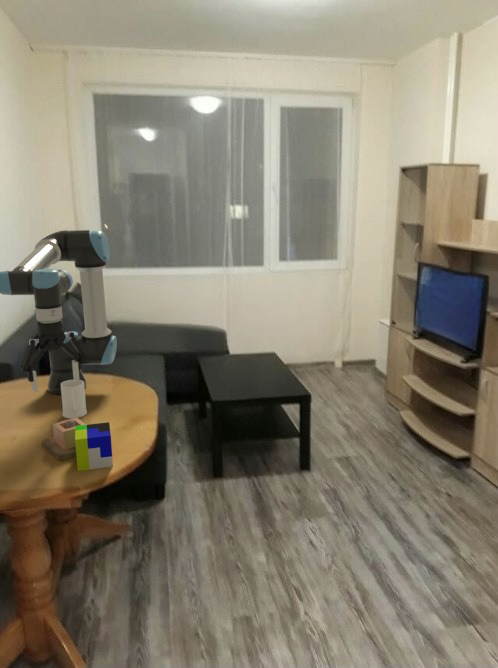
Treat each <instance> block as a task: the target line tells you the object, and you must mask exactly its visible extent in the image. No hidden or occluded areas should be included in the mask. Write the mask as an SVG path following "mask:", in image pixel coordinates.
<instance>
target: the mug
mask: <svg viewBox="0 0 498 668" xmlns="http://www.w3.org/2000/svg"><path fill="white" fill-rule="evenodd" d="M60 395H61V401H62V402H61V404H62V405H61V406H62V417H63V418H65V419H72V418H76V417H77V418H78V419H80V418H81V417H84V416H86V415H87V413H88V410H87V405H86V392H85V389H84V381H82V380H80V381H78V382H77V381H75V380H67V381H64V382H62V383H61V394H60Z"/></svg>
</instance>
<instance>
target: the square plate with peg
mask: <svg viewBox="0 0 498 668" xmlns="http://www.w3.org/2000/svg"><path fill="white" fill-rule="evenodd" d="M67 420H68V421H66V427H67V429H68V428H71V427H75V423H74V420H69V419H67ZM41 446H43V447H44V448H45V449H46V450H47V451H48V452H49V453H50V454H52V455H53V456H54V457H55V458H56V459H58V460H59V461H60V462H61V461H63V460H66V459H70V458H72V457H77V456H76V446H75V447H72V448H69V449H66V450H64V449H63V448H62V447H60V446H59V445H58V444H57V443H56V442H54V436H52V437H49V438H46V439H43V440H41Z"/></svg>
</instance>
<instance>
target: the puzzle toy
mask: <svg viewBox="0 0 498 668" xmlns="http://www.w3.org/2000/svg"><path fill="white" fill-rule="evenodd" d="M75 445H76V456H75V457H76V466H77V471H78V472H79V471H87V470H88V471H89V470H95V469H103V468H112V467H114V464H113V463H114V462H113V451H112V449H113V448H112V434H111V426H110V422H99V423H91V424H87V425H80V426H75Z"/></svg>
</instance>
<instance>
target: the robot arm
mask: <svg viewBox="0 0 498 668" xmlns="http://www.w3.org/2000/svg"><path fill="white" fill-rule="evenodd" d="M110 253H111V250H110V243H109V241H108V238H107V236H106V234H105V233H104V232H103V231H102V230H95V229H94V230H93V229H89V230H88V229H86V230H85V229H84V230H81V229H80V230H66V229H65V230H59V231H56V232H53V233H51V234H49V235H47V236H45V237H43V238H41V239H40V240H39V241H38V242H37V243H36V244H35V246H34V250H33V251H32V252H31V253H29V254H28V255H27V256H26V257H25V258H24V259H23V260H22V261H21V262H20V263H19V264H18V265H17V266H16V267H14V268H13V269H12V270H5V271H0V295H4V296H6V295H8V296H33V297H34V306H35V317H36V321H37V323H36V324H37V325H36V326H37V334H38V337H37V338H34V339H33V338H28V339H27V347H26V349H25V354H24V355H23V359H22V361H21V364H20V367H19V370H20V371H23V372H26V375H27V376H26V377H27V381H28V382H30V384H31V390H32V391H33V392H35V393H37V392H39V390H38V379H37V371H36V370H35V369H36V367H37V366H38V364H39V362H40V361H41V360H42V357H44V355H45V354H46V353H47V351H48V354H49V355H48V356H49V363H50V366H49V367H50V374H49V379H48V383H47V391H48V392H49V393H51V394H55V395H62V394H61V383H62V382H64V381H67V380H75V381H77V382H78V381H80V380H82V381H84V390H85V389H86V388H87V381H86V378H85V376H84V373H83V371H82V365H90V366H91V365H100V366H102V365H110V364H112V363H113V362H114V360H115V358H116V354H117V346H118V340H117V336H116V335H113V334H112V330H111V329H110V328H108V321H107V310H106V307H107V306H106V298H105V296H106V295H105V285H104V284H105V283H104V272H103V270H104V268H105V267H106V266H107V263H106V262H109V261H110V259H111V254H110ZM58 262H74V267H75V268H76V269H77V270H78V271H79V278H80V287H81V288H80V289H81V298H82V300H81V301H82V307H83V308H82V310H83V318H84V328H85V329H84V330H83V331H82V332H81V335H79V333H78V331H74V330H73V331H70V330H68V331H65V328H64V327H65V326H64V320H63V308H62V297H61V296H62V295H64V294H66V293H68V292H69V291H70V289H71V288H72V287H73V281H74V280H73V277H72V275H71V273H70V272H69V271H67V270H65V269H55V268H50V267H51V266H52V265H55V264H57V263H58ZM38 344H39V346H38V348H37V351H36V352H35V348H36V346H37V345H38ZM34 352H35V354H34ZM33 354H34V355H33Z"/></svg>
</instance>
